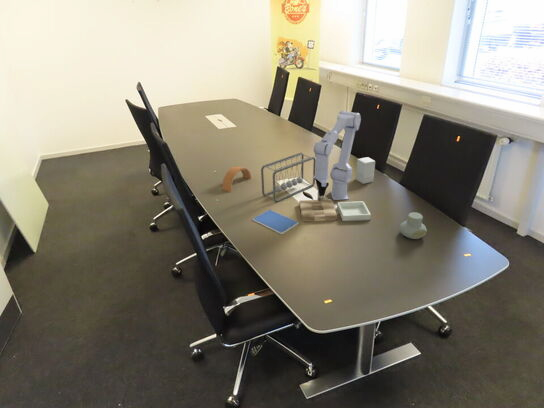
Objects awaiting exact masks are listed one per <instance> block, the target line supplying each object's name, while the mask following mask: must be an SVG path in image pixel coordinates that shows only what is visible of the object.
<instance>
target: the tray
mask: <svg viewBox="0 0 544 408" xmlns="http://www.w3.org/2000/svg"><path fill="white" fill-rule="evenodd" d="M336 207H337V211H338V213H339V216H340V218H341V220H342V222H355V221H356V222H358V221H359V222H360V221H362V222H363V221H371V218H372V215H371V212H370V210H369V209H368V206H367V205H366V203H365V202H364V201H362V200H360V201H359V200H358V201H340V202H339V201H338V202H337V205H336Z"/></svg>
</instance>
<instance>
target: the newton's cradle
mask: <svg viewBox="0 0 544 408" xmlns="http://www.w3.org/2000/svg"><path fill="white" fill-rule="evenodd" d="M304 156H305V157H304ZM299 157H301V159H300V160H298V159H299ZM294 158H296V161H295V162H293V161H294ZM297 158H298V159H297ZM289 160H291V161H290V163H289ZM312 160H313V170H312V171H313V172H312V176H313V175H316V157H315V156H312V157H311V156H309V155H306V154H304V153H303V152H298V153H296V154H295V153H294V154H292V155H290V156H287V157H284V158H281V159H279V160H275V161H273V162H270V163H267V164H264V165H263V166H261V169H260V172H261V173H260V175H261V176H260V177H261V193H262V196H264V197H269V198H271V199H272V200H273V202H274V203H278V202H281V201H283V200H285V199H288V198H289V197H293V196H294V195H297V194H299V193H301V192H304V191H306V190H308V189H311V188H314V186H315V185H316V180H315V178H313V177H312V184H309V183H307V182H305V181H303V180H304V163H306V162H309V161H312ZM284 162H286V163H285V164H284ZM287 162H288V163H289V164H287ZM282 163H283V165H284V166H279V165H278V164H280V165H282ZM299 165H301V168H300V174H299V171H297V172H298V173H295V176H294V173H290V176H289V177H287V178H288V180H287V181H286V182H285V180H283V182H282V183H281V184H280V183H277V184H276V179H278V181H280V177H281V176H282V177H281V178H282V179H284V177H286V175H287V174H289V173H288V172H289V171H288V169H290V170H294V169H293V168H294V167H295V166H296V168H295V170H298V167H299ZM273 166H275V167H274V168H275V169H273V168H271V167H273ZM276 166H277V167H279V168H276ZM265 168H267V169H269V170H271V171H273V172H272V173H273V174H272V190H271V191H269V192H267V193H265V181H264V179H265V178H264V176H265V175H264V169H265ZM283 171H286V173H285V174H284V175H285V176H284V175H281V176H279V178H277V173H279V174H282V172H283ZM291 174H292V175H291ZM297 174H298V175H300V176H297V177H296V175H297ZM283 176H284V177H283ZM291 176H293V178H292V179H290V177H291ZM295 177H296V178H295ZM301 183H303V184H306V185H308V186H306V187H305V188H301V189H299V190H297V191H295V192H291V193H290V194H288V195H285V196H283V197H281V198H278V199H277V198H276V196H277V195H276V193H280V192H281V191H282V190H283V191H286V190H287V189H288V188H289V189H290V188H292V187H293V186H294V187H295V186H297V185H298V184H301ZM281 189H282V190H281ZM271 194H273V195H272V196H273V197H272V196H269V195H271Z"/></svg>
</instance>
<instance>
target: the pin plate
mask: <svg viewBox="0 0 544 408" xmlns="http://www.w3.org/2000/svg"><path fill="white" fill-rule="evenodd" d="M299 209H300V214H301V219H302V222H319V221H323V222H324V221H338V220H337V219H338V214H337V212H336V209H335V206H334V203H333V201H332V199H331V198H330V199H329V198H328V199H325V198H324V201H318V199H307V200H305V199H303V200H299Z"/></svg>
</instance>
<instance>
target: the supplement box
mask: <svg viewBox="0 0 544 408" xmlns="http://www.w3.org/2000/svg"><path fill="white" fill-rule="evenodd" d="M375 169H376V160H374V159H372V158H370V157H369V156H367V157H361V158H357V160H356V170H355V171H356V173H355V180H356V181H358V182H360V184H362V185H363V184H368V183H369V184H370V183H372V182H374V179H375V178H374V177H375Z"/></svg>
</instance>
